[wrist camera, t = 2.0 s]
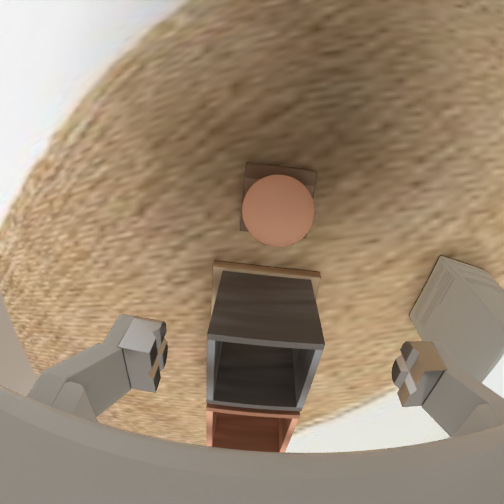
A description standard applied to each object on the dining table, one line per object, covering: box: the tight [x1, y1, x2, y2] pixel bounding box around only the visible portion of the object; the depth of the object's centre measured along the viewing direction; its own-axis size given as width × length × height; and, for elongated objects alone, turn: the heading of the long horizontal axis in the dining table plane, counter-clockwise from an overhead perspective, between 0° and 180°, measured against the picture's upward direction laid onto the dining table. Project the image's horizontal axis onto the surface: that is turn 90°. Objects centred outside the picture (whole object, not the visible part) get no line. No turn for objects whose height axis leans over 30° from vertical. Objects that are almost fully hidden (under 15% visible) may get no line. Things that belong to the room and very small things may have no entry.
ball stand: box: [240, 162, 317, 238], centre depth 24 cm, size 5×5×1 cm
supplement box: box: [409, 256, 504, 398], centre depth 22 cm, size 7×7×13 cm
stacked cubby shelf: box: [207, 261, 325, 453], centre depth 27 cm, size 16×9×9 cm, turn 174°
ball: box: [242, 175, 315, 247], centre depth 22 cm, size 5×5×5 cm
